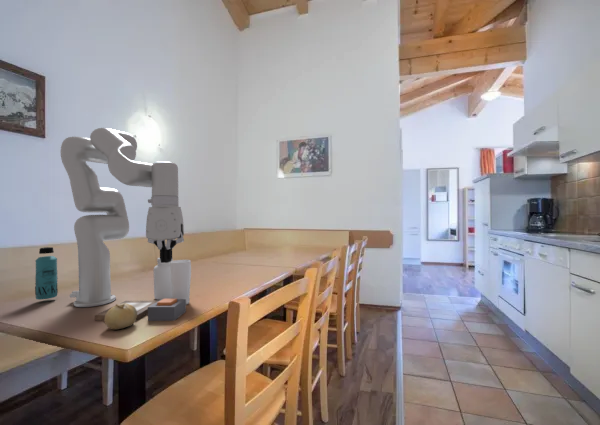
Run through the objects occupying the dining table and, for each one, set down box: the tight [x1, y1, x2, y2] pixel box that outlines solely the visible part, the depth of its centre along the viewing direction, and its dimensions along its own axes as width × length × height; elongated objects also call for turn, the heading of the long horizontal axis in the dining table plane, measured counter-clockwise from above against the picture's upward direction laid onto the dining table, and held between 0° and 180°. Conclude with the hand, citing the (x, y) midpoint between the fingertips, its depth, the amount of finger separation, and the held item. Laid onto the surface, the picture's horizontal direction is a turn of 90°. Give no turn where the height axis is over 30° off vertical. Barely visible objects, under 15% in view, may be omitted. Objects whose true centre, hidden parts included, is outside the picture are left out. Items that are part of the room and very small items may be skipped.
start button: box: [157, 298, 177, 306], centre depth 93 cm, size 4×4×3 cm
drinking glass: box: [170, 259, 192, 306], centre depth 106 cm, size 7×7×15 cm
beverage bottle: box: [34, 246, 59, 300], centre depth 113 cm, size 6×7×20 cm
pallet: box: [94, 299, 159, 321], centre depth 98 cm, size 13×15×2 cm
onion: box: [103, 302, 137, 330], centre depth 85 cm, size 8×8×7 cm
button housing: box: [147, 299, 187, 322], centre depth 93 cm, size 8×8×4 cm
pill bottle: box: [153, 257, 174, 300], centre depth 115 cm, size 8×8×15 cm
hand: (166, 261), depth 94 cm, fingers closed
